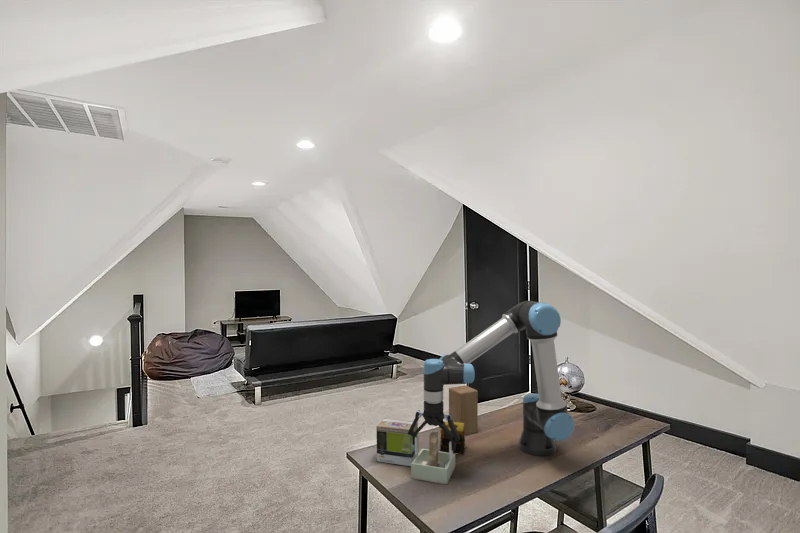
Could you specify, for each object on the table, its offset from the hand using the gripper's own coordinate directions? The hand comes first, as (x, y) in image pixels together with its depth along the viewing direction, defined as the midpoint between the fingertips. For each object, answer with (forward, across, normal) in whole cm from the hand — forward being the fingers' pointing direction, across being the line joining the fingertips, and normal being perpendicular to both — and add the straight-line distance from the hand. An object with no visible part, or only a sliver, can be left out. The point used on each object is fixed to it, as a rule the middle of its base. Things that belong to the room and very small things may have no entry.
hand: (433, 455), depth 165 cm
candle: (+7, -2, -23) cm, 24 cm away
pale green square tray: (+6, 0, 0) cm, 6 cm away
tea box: (+7, +17, -6) cm, 19 cm away
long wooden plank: (+5, 0, 0) cm, 5 cm away
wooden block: (+7, -2, -44) cm, 45 cm away
